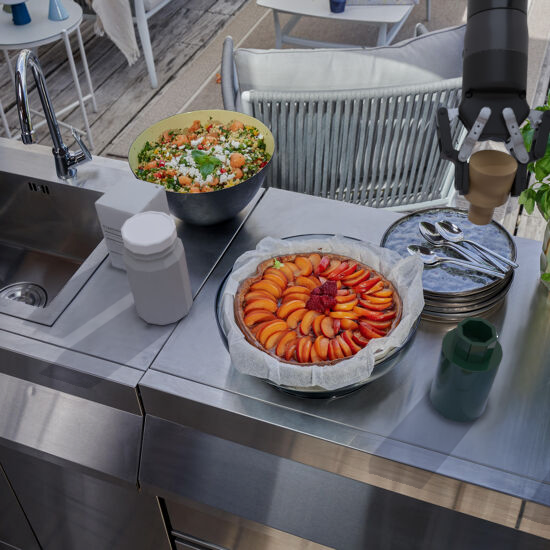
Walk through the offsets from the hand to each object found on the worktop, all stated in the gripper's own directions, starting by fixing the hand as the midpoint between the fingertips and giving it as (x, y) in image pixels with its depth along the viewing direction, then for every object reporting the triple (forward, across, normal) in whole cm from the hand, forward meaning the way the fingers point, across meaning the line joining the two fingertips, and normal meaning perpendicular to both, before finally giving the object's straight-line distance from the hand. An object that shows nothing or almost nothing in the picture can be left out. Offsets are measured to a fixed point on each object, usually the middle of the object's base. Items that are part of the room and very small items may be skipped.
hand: (489, 194), depth 78 cm
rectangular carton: (+8, -53, +38) cm, 66 cm away
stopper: (+2, 0, +5) cm, 5 cm away
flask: (+28, +1, +18) cm, 33 cm away
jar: (+17, -47, +29) cm, 58 cm away
